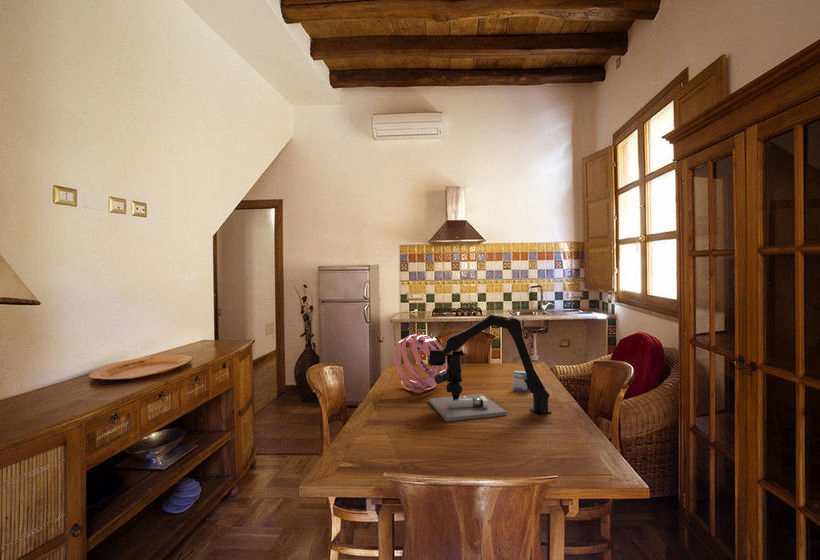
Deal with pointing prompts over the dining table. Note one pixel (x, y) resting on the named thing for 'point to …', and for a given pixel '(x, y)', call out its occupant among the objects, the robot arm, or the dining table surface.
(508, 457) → the dining table surface
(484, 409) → the latch plate
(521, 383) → the medicine box
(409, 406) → the dining table surface
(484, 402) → the latch key
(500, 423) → the dining table surface
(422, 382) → the pink spiral sphere sculpture
